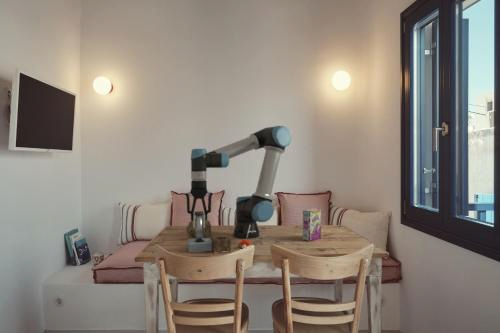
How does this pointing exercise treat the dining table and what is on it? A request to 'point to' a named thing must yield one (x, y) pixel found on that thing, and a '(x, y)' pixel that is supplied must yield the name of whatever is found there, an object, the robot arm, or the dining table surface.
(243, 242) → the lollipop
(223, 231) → the dining table surface
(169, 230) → the dining table surface
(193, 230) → the rock
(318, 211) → the candy bar box
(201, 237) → the lock pin
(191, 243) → the dock
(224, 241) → the mount
